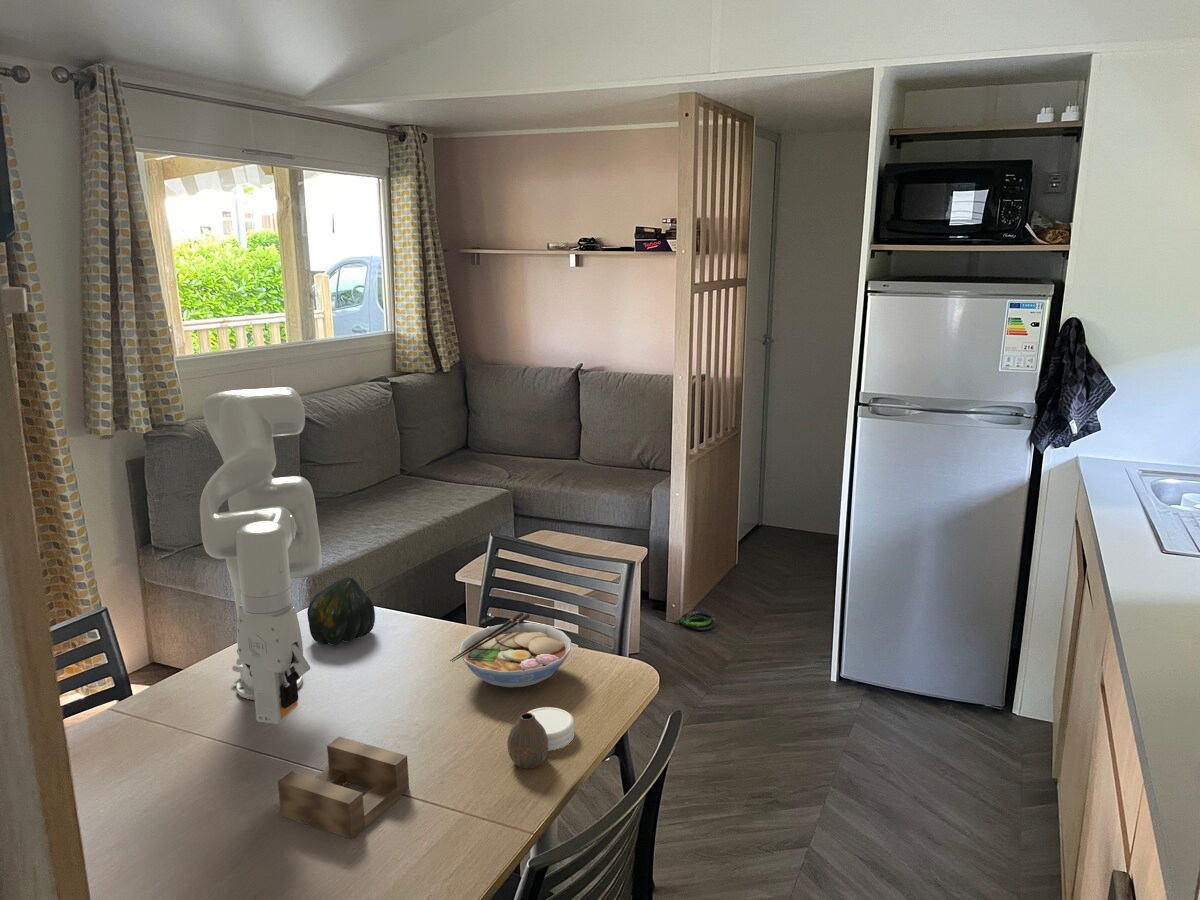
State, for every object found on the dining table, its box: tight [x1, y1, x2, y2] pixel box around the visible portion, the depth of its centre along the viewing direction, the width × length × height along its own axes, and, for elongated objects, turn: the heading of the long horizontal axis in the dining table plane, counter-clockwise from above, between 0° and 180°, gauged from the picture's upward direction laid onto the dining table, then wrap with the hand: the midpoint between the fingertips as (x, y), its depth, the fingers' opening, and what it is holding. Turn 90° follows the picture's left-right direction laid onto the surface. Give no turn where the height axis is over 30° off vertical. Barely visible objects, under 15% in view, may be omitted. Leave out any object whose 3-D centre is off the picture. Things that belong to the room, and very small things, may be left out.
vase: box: [506, 712, 548, 770], centre depth 152 cm, size 7×7×9 cm
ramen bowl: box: [449, 612, 572, 688], centre depth 181 cm, size 25×23×8 cm
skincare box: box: [251, 655, 298, 725], centre depth 146 cm, size 6×4×12 cm
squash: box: [307, 576, 376, 646], centre depth 201 cm, size 14×15×15 cm
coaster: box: [526, 706, 575, 752], centre depth 161 cm, size 10×10×4 cm
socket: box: [277, 736, 410, 840], centre depth 142 cm, size 14×14×6 cm
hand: (276, 699), depth 147 cm, fingers closed on skincare box, 5 cm apart
